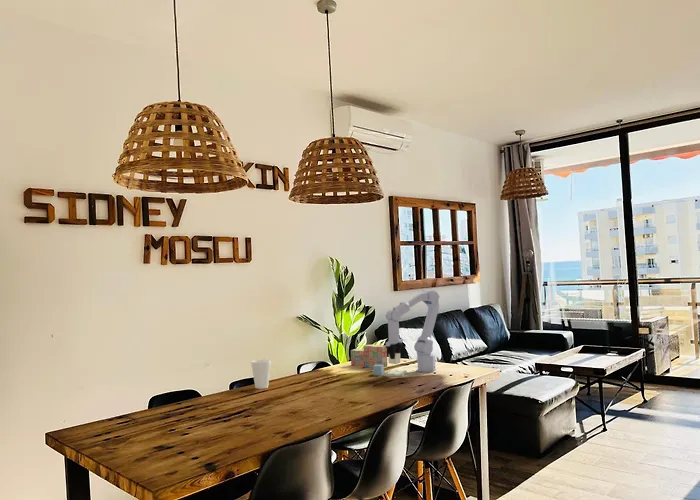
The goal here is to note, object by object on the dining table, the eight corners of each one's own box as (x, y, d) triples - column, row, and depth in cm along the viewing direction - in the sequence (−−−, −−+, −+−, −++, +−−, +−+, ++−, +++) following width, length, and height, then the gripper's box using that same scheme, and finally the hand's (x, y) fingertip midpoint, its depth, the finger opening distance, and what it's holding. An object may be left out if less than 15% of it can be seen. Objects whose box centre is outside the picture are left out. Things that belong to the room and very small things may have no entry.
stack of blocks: (350, 366, 314) (350, 345, 314) (356, 364, 319) (355, 343, 319) (382, 368, 302) (381, 346, 303) (387, 366, 307) (386, 345, 308)
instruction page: (384, 369, 296) (384, 369, 296) (382, 371, 292) (382, 370, 292) (373, 369, 298) (373, 369, 298) (371, 371, 294) (371, 370, 294)
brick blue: (383, 374, 285) (383, 364, 285) (381, 375, 281) (381, 366, 281) (375, 373, 287) (375, 364, 287) (373, 375, 282) (373, 366, 283)
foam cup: (269, 384, 269) (269, 358, 269) (272, 388, 260) (272, 361, 260) (251, 386, 266) (250, 360, 266) (253, 390, 257) (252, 363, 257)
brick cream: (392, 361, 285) (392, 352, 285) (400, 362, 283) (400, 353, 283) (388, 363, 282) (388, 353, 282) (396, 364, 279) (395, 354, 279)
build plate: (406, 373, 285) (406, 370, 285) (402, 376, 275) (402, 374, 275) (388, 372, 288) (388, 369, 288) (383, 376, 279) (383, 373, 279)
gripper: (393, 334, 274) (394, 360, 274) (406, 331, 286) (407, 356, 286) (381, 333, 278) (382, 359, 278) (395, 330, 290) (396, 355, 290)
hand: (394, 358), depth 282 cm, fingers closed on brick cream, 4 cm apart
